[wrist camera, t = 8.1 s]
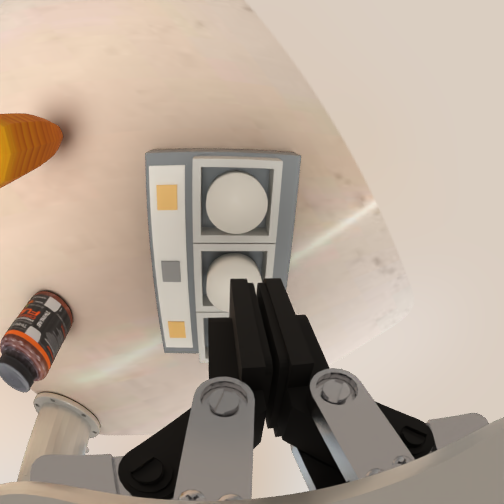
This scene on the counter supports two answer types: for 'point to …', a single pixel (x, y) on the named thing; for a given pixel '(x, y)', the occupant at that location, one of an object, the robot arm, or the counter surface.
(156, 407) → the counter surface
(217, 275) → the button middle
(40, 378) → the supplement bottle
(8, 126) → the carrot
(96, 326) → the counter surface
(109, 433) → the counter surface
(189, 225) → the panel
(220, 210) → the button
